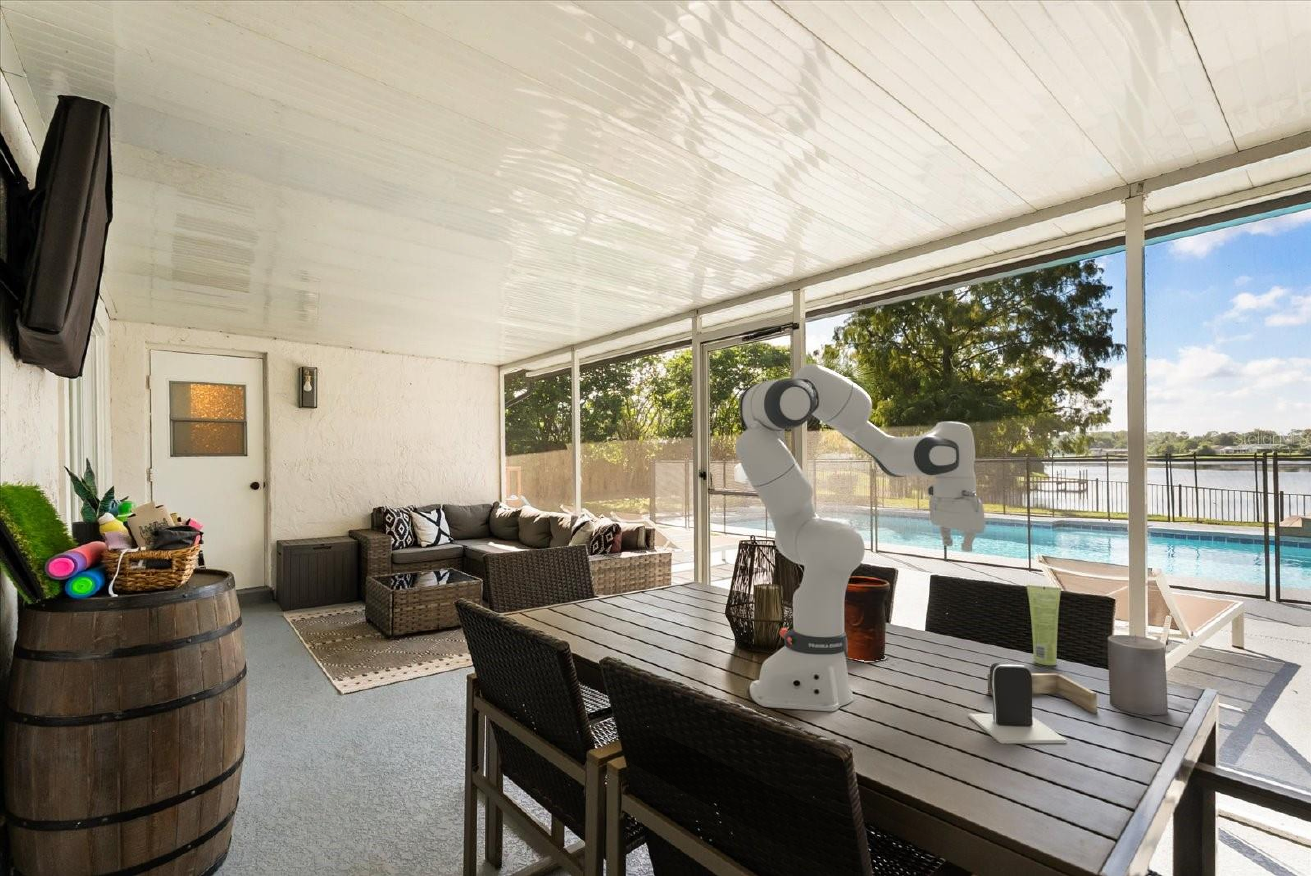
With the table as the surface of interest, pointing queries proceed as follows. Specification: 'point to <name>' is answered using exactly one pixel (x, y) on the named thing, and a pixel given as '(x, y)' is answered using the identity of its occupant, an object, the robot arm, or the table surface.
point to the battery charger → (1011, 694)
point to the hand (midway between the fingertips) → (957, 548)
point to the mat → (1017, 731)
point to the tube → (1044, 622)
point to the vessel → (865, 618)
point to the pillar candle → (1137, 674)
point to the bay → (1062, 689)
